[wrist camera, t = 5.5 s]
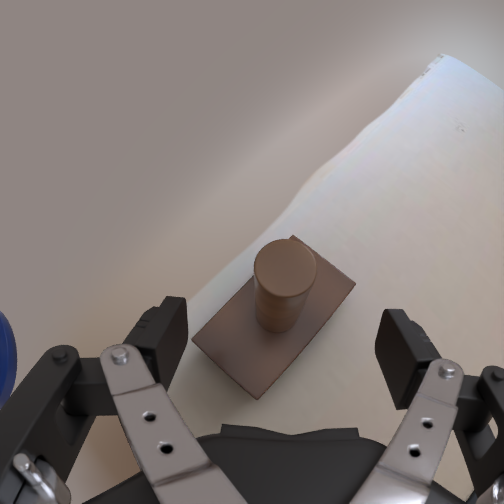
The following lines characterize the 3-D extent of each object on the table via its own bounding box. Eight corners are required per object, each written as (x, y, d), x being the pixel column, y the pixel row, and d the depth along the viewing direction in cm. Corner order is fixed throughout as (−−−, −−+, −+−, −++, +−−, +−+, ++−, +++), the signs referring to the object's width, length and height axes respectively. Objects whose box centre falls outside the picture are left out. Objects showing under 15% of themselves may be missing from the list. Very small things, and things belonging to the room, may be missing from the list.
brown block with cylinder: (257, 399, 20) (256, 403, 11) (199, 347, 21) (154, 307, 12) (345, 297, 23) (396, 229, 14) (289, 253, 24) (305, 165, 15)
